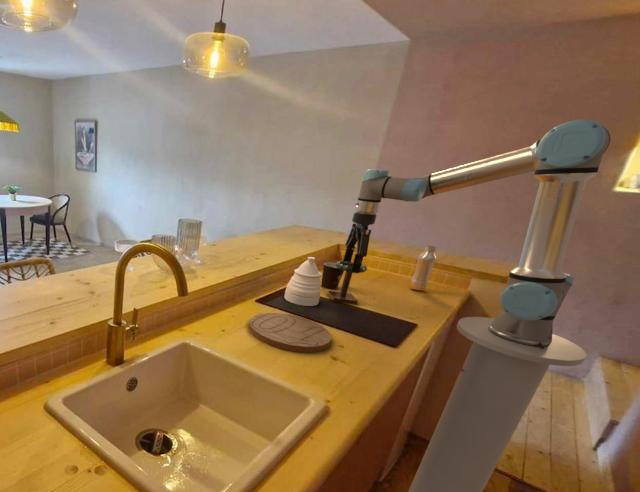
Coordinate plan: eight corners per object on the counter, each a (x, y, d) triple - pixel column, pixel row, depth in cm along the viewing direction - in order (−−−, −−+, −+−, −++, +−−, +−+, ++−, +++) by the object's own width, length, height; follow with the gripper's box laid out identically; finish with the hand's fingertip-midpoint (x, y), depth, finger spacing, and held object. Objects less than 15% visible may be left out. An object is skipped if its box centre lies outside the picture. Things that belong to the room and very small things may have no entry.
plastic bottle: (426, 290, 177) (441, 246, 169) (423, 293, 172) (439, 249, 164) (409, 286, 181) (423, 244, 173) (406, 289, 176) (421, 246, 168)
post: (357, 304, 155) (367, 267, 149) (332, 301, 157) (342, 264, 151) (350, 296, 163) (360, 261, 157) (327, 294, 165) (336, 258, 159)
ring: (370, 274, 149) (371, 269, 148) (339, 271, 151) (340, 266, 150) (360, 266, 159) (362, 262, 158) (332, 263, 161) (333, 259, 160)
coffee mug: (327, 290, 169) (332, 268, 166) (314, 283, 177) (319, 262, 173) (350, 289, 172) (356, 268, 168) (336, 283, 179) (342, 262, 176)
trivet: (341, 336, 127) (343, 330, 126) (310, 361, 111) (312, 355, 110) (270, 311, 143) (271, 307, 143) (234, 330, 127) (234, 325, 126)
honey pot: (319, 308, 149) (331, 263, 142) (284, 302, 153) (293, 258, 146) (317, 297, 160) (327, 254, 154) (284, 292, 164) (293, 250, 158)
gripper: (346, 207, 158) (332, 259, 166) (365, 216, 137) (348, 276, 145) (366, 209, 156) (351, 261, 165) (388, 218, 135) (370, 278, 144)
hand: (350, 268), depth 155 cm, fingers closed on ring, 11 cm apart
